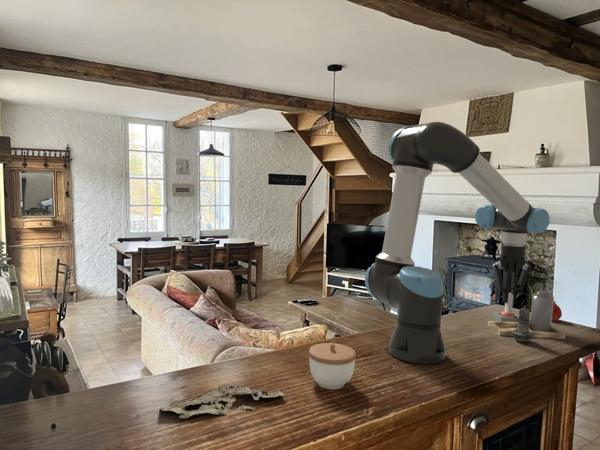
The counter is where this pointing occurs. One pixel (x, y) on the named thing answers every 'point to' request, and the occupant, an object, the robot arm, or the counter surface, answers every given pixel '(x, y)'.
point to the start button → (507, 314)
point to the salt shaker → (523, 326)
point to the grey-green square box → (505, 319)
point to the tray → (507, 328)
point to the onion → (556, 312)
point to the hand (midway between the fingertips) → (508, 312)
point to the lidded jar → (331, 364)
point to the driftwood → (217, 401)
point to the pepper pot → (541, 311)
